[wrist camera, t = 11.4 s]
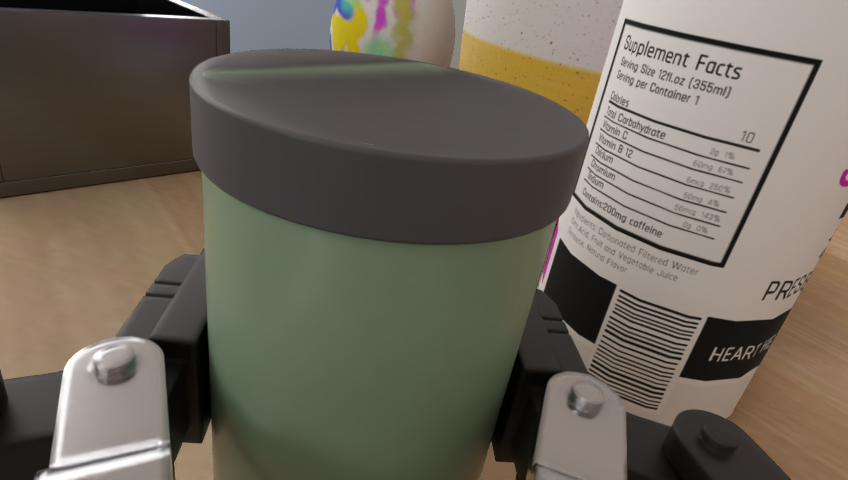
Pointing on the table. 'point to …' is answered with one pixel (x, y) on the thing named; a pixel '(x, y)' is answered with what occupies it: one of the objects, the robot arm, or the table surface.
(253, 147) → the spice tin
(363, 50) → the decorative egg
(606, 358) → the supplement can
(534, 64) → the planter
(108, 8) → the dark grey box
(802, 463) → the table surface
